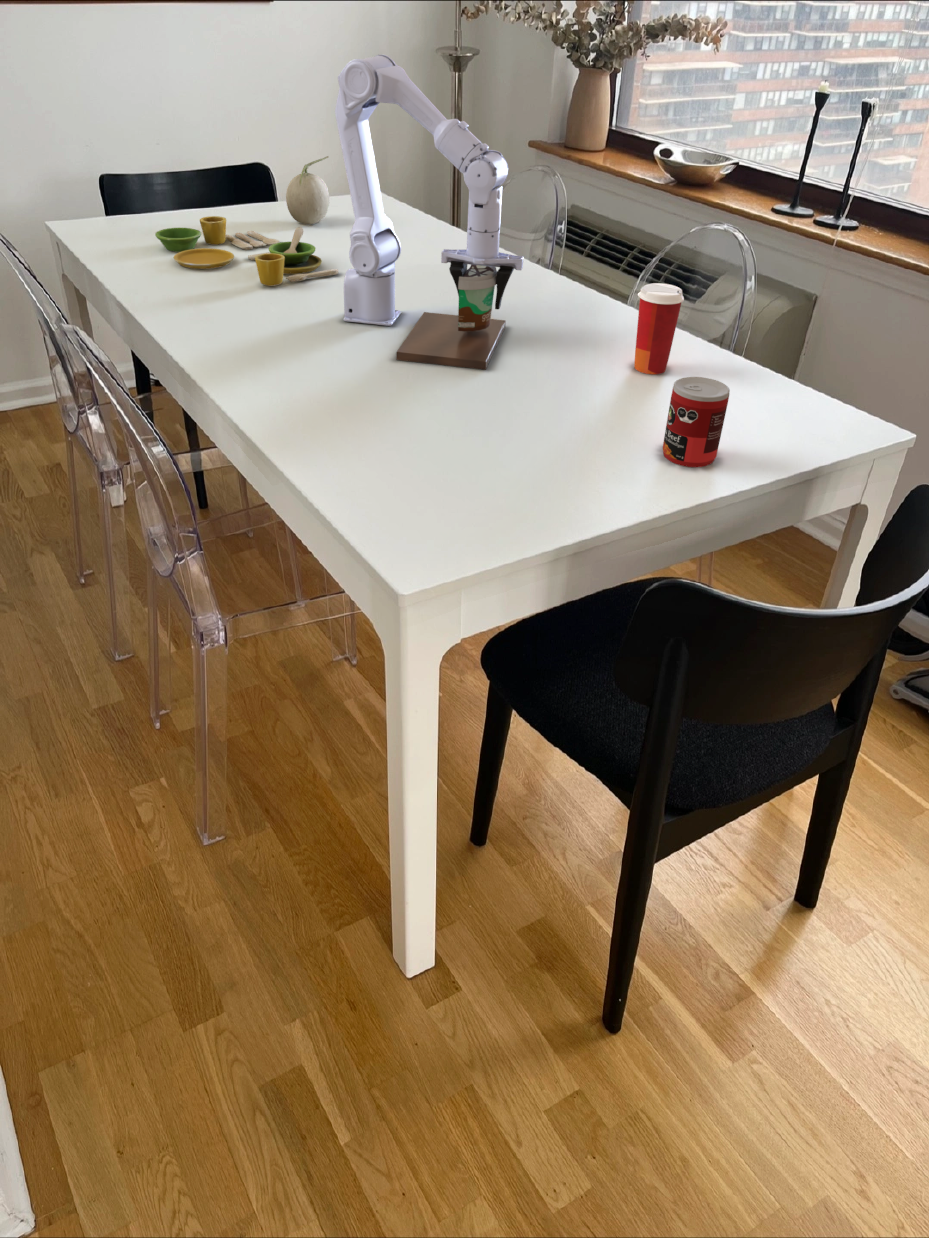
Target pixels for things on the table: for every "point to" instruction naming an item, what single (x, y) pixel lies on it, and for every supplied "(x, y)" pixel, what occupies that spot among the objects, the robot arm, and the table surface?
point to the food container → (476, 297)
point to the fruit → (307, 197)
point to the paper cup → (656, 326)
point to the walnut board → (450, 342)
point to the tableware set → (269, 264)
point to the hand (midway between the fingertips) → (479, 306)
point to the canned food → (695, 421)
